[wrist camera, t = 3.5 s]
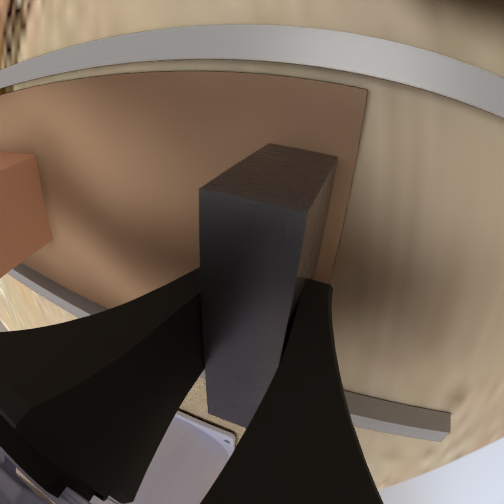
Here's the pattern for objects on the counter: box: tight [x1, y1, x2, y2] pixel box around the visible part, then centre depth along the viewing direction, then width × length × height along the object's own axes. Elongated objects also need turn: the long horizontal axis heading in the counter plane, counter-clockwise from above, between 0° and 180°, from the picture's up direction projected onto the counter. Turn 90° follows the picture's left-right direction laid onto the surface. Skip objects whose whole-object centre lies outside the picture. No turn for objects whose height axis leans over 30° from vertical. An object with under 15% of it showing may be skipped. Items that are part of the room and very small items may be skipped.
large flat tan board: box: [0, 71, 368, 428], centre depth 12 cm, size 12×24×4 cm, turn 86°
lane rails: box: [0, 24, 504, 442], centre depth 13 cm, size 15×36×1 cm, turn 86°
